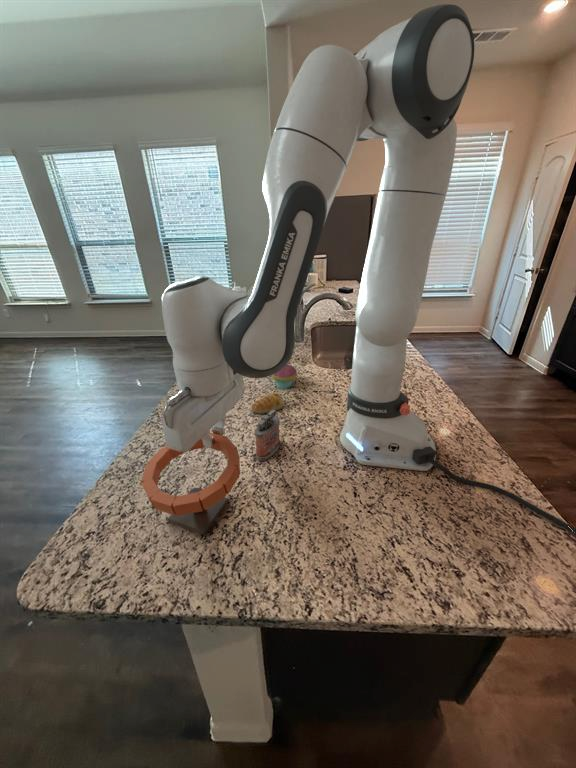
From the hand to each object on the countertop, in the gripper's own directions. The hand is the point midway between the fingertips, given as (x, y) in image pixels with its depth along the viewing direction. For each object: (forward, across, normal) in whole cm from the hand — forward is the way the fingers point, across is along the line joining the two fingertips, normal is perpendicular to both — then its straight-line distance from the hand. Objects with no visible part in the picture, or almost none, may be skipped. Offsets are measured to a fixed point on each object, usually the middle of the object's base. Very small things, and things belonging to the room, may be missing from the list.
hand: (214, 440), depth 60 cm
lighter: (+12, +14, -4) cm, 19 cm away
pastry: (+12, +32, +4) cm, 34 cm away
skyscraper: (+12, +71, +35) cm, 80 cm away
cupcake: (+12, +46, +5) cm, 48 cm away
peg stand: (+12, -8, 0) cm, 14 cm away
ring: (+2, -7, 0) cm, 7 cm away
